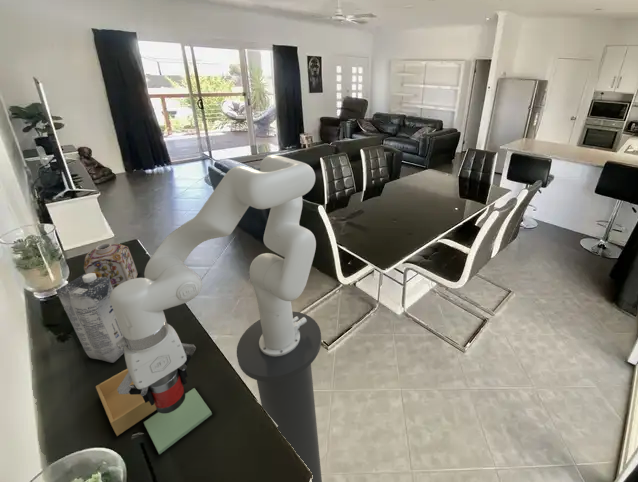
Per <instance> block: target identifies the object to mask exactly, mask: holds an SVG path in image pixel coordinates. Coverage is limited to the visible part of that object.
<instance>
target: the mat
mask: <svg viewBox="0 0 638 482" xmlns="http://www.w3.org/2000/svg"><path fill="white" fill-rule="evenodd" d="M211 416H213V413H212V411H211V409H210V408H209V406H208V405H207V403H206V402H205V401H204V399H203V398H202V396H201V395H200V394H199V392H198V391H197V390H196V388H195V387H194V388H192V389H191V390H189V391H187V392H185V400H184V402H183V403H182V404H181V406H180V407H178V408H177V409H176V410H174V411H172V412H170V413H166V414H162V413H159V412H158V411H157V412H156V413H155V414H153V415H152V416H150V417H149V418H148V419H146V420H145V421H143V425H144V427H145V429H146V431H147V433H148V435H149V437H150V439H151V441H152V443H153V445H154V447H155V449H156V451H157V453H158V455H161V454H162V453H163V452H166V450H168V449H169V448H170V447H171V446H173V445H174V444H176V443H177V442H178V441H179V440H180V439H182V438H184V436H186V435H187V434H189V433H190V432H192V431H193V430H194V429H195V428H196V427H198V426H199V425H200V424H202V423H203V422H205V420H207V419H208V418H210V417H211Z"/></svg>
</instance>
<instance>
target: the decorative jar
mask: <svg viewBox="0 0 638 482" xmlns="http://www.w3.org/2000/svg"><path fill="white" fill-rule="evenodd" d="M83 271H84V274H89V273H95V274H96V277H105V278H110V281H111V285H112V287H113V289H114V288H115V287H117V286H118V285H120V284H121V283H123V282H125V281H128V280H131V279H135V278H138V274H139V273H138V270H137V267H136V265H135V262H134V258H133V256H132V254H131V251H130V249H129V246H127V245H124V244H120V243H101V244H99V245H97V246H95V248H94V249H92V250H89V251H88V252H87V253H86V255H85V257H84V263H83Z"/></svg>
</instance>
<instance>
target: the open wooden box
mask: <svg viewBox="0 0 638 482" xmlns="http://www.w3.org/2000/svg"><path fill="white" fill-rule="evenodd" d="M127 373H128V369H127V368H126V369H124V370H121V372H119V373H116V374H115V375H113V376H111V377H110V378H108V379H105V380H104V381H102V382H100V383H99V384H97V385H96V386H95V389H96V392H97V394H98V397H99V399H100V401H101V403H102V406H103V408H104V411H105V414H106V416H107V419H108V421H109V423H110V425H111V427H112V429H113V431H114V433H115V435H116V437H118V436H120V435H121V434H123V433H124V432H126V431H128V429H131V428H132V427H133V426H135V425H136V424H138V423H139V422H140V421H142V420H143V419H145V418H146V417H148V416H150V415H151V414H152V413H154V412H155V411H157V409H156V406H155V404H154V405H152V406H151V404H150V402H149V401H148V402H147V403H145V401H144V399H143V397H142V396H141V394H135V395H131V394H119V393H118V391H117V388H118V387H119V385H120V384H121V382H122V381H123V379H124V378H125V376H126V375H127ZM130 385H134V383H133V381H132V382H131V384H130Z"/></svg>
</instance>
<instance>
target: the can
mask: <svg viewBox="0 0 638 482" xmlns="http://www.w3.org/2000/svg"><path fill="white" fill-rule="evenodd" d="M148 388H149V390H150V392H151V394H152V397H153V399H154V402H155V403H154V404H155V406H156V409H157V410H156V411H157V413H158V412H159V413H162V414H166V413H170V412H172V411H174V410H176V409H177V408H178V407H180V406H181V404H182V403H183V402H184V400H185V394H186V391H185V387H184V384H183V383H182V381H181V378H180V375H179V373H178V370H177V369H176V370H174V371H172V372H171V373H169V374H168V375H166V376H164V377H163V378H161V379H159V380H158V381H156V382H154V383H153V384H151V385H149V386H148Z"/></svg>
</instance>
